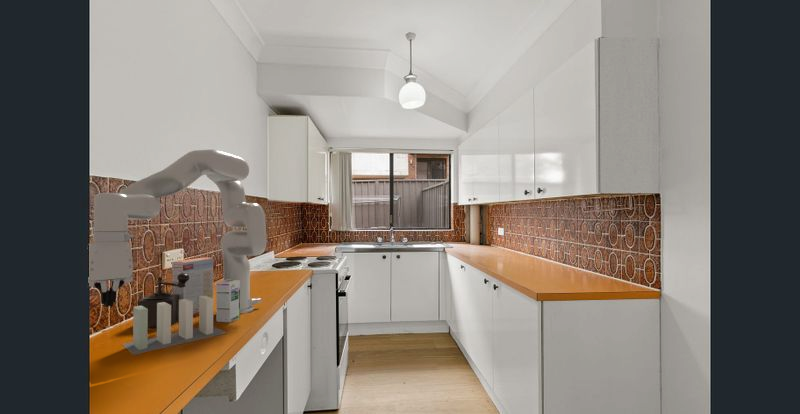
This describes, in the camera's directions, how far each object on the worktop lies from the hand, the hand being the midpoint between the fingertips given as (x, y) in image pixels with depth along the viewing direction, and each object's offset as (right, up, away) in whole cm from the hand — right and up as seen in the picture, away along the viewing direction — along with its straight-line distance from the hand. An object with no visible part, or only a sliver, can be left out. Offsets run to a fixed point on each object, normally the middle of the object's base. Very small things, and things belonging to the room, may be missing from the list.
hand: (108, 305), depth 104 cm
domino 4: (+17, -13, +19) cm, 29 cm away
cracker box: (0, -14, +42) cm, 44 cm away
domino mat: (+11, -14, +12) cm, 22 cm away
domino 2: (+9, -13, +10) cm, 19 cm away
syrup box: (+18, -14, +33) cm, 40 cm away
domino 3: (+13, -13, +14) cm, 23 cm away
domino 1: (+5, -13, +5) cm, 15 cm away
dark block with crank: (-2, -14, +29) cm, 33 cm away
